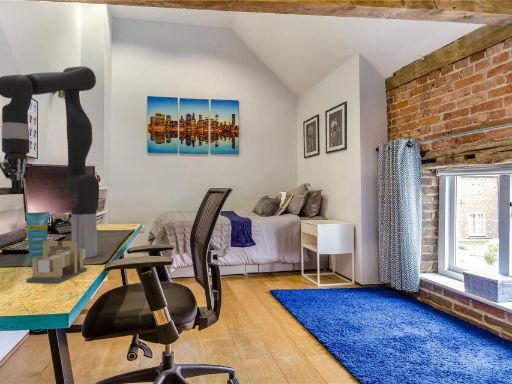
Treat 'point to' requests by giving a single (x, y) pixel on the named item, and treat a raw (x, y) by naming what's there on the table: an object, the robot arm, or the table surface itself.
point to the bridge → (64, 244)
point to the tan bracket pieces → (55, 266)
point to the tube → (36, 233)
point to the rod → (48, 262)
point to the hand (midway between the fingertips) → (16, 192)
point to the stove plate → (65, 276)
